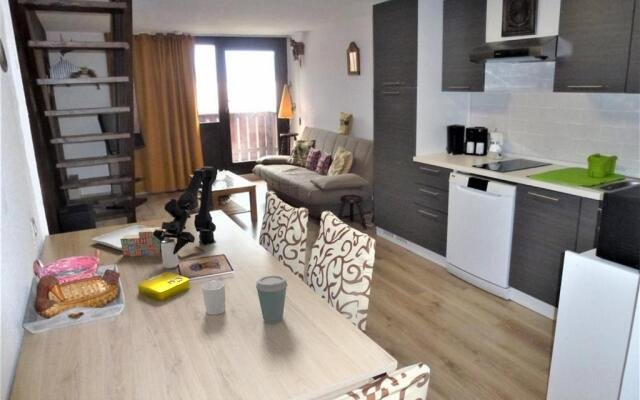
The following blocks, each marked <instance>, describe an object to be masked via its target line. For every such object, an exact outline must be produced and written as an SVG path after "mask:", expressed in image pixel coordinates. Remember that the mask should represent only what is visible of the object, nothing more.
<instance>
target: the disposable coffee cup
mask: <svg viewBox="0 0 640 400" xmlns="http://www.w3.org/2000/svg"><path fill="white" fill-rule="evenodd" d="M287 287H288V281H287V279H286V277H284V276H282V275H275V274H273V275H265V276H262V277H260V278H259V279H258V280H257V281H256V283H255V289H256V290H257V295H258V296H257V297H258V300H259V306H260V310H261V315H262V319H263V322H265V323H266V324H271V325H272V324H277V323H280V322H282V321H283V318H284V309H285V303H286V302H285V301H286V294H287Z"/></svg>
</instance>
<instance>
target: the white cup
mask: <svg viewBox="0 0 640 400" xmlns="http://www.w3.org/2000/svg"><path fill="white" fill-rule="evenodd" d="M201 290H202V296H203V297H202V298H203V302H204V306H205V311H206V313H207V315H209V316H218V315H221V314H223V313H225V311H226V283H225V282H224V281H223V280H209V281H206V282H205V283H203V284H202V285H201Z"/></svg>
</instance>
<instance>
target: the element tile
mask: <svg viewBox="0 0 640 400" xmlns="http://www.w3.org/2000/svg"><path fill="white" fill-rule="evenodd" d="M137 288H138V289H137V290H138V293H139V295H141V296H143V297H146V298H147V299H151V300H152V301H154V302H158V303H159V302H164V301H167V300H169V299H171V298H173V297H175V296H178V295H179V294H181V293H184V292H185V291H188V290H189V289H190V288H191V285H190V279H189V278H188V277H185V276H184V275H179V274H177V273H174V272H171V271H166V272H162V273H160V274H158V275H155V276H154V277H150V278H148V279H146V280H143V281H140V282H139V283H138V284H137Z"/></svg>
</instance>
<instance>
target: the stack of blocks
mask: <svg viewBox="0 0 640 400" xmlns="http://www.w3.org/2000/svg"><path fill="white" fill-rule="evenodd" d="M155 230H163V231H164V232H165V233H169V232H167V231H166V229H162V226H161V227H158V226H156V227H151V228H143V229H141V230H140V231H139V234H128V235H124V236H123V237H122V238H121V245H122V250H121V251H122V254H123V255H122V256H123V257H144V256H145V257H146V256H149V257H150V256H162V253H161V252H160V240H159V239H158V238H156V237H155V236H154V235H153V233H154V231H155ZM167 239H170V238H167Z"/></svg>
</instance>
